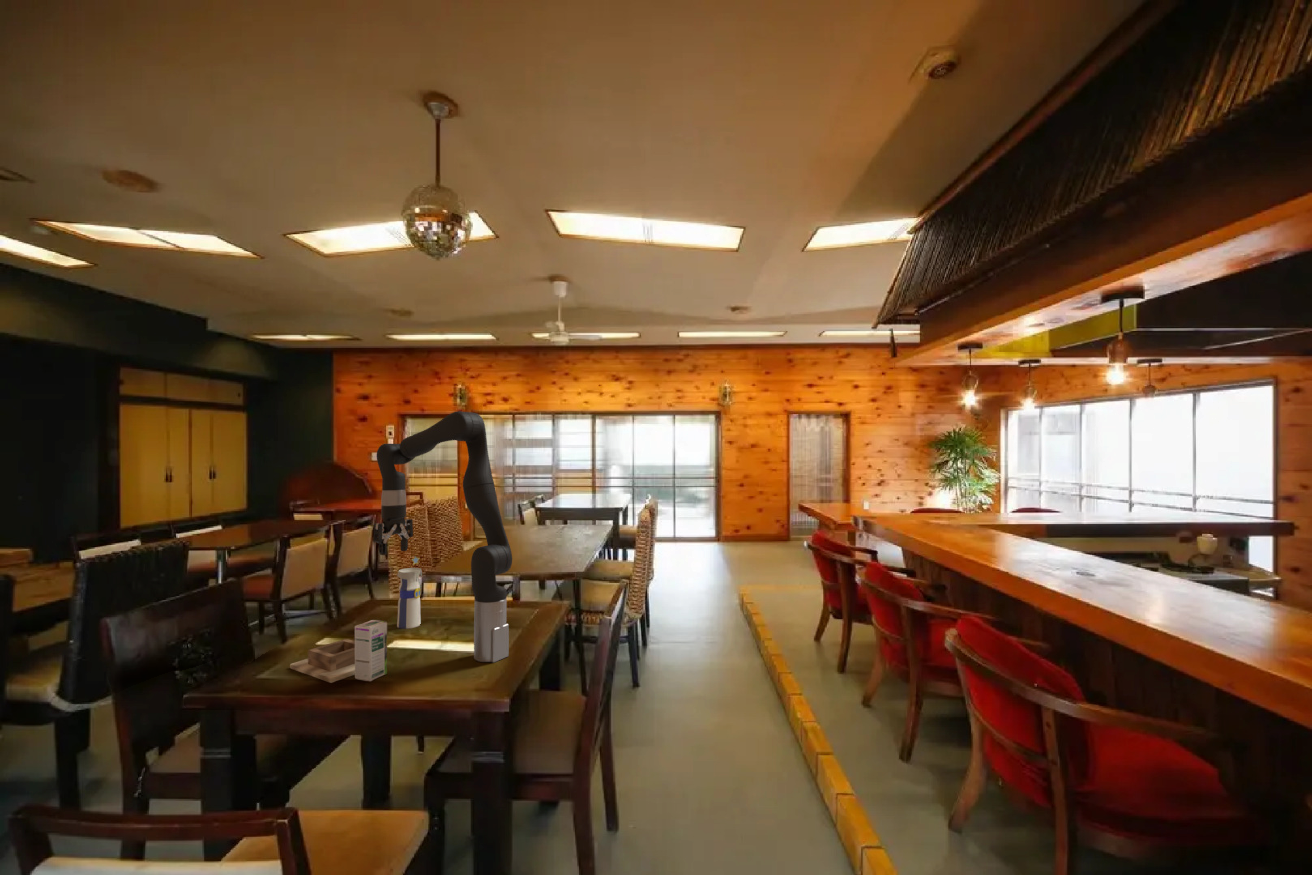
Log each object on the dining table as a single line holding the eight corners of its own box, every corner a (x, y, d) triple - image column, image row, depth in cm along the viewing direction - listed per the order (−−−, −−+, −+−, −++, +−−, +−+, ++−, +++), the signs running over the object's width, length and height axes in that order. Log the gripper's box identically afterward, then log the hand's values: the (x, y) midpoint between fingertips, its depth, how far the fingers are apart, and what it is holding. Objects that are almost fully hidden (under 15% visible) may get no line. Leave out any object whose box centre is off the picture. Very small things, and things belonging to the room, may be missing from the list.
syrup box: (370, 681, 152) (371, 626, 152) (353, 678, 154) (354, 624, 154) (387, 674, 157) (387, 621, 157) (370, 671, 159) (371, 618, 159)
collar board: (386, 663, 165) (386, 645, 165) (330, 682, 151) (331, 663, 151) (345, 651, 175) (345, 634, 175) (290, 668, 161) (290, 649, 161)
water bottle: (427, 622, 204) (428, 552, 205) (412, 629, 196) (413, 556, 197) (407, 620, 206) (408, 551, 207) (391, 627, 198) (392, 555, 198)
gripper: (384, 505, 181) (384, 557, 181) (418, 502, 194) (418, 549, 194) (367, 505, 184) (367, 555, 183) (402, 501, 197) (402, 548, 197)
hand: (393, 552), depth 189 cm, fingers open, 8 cm apart
